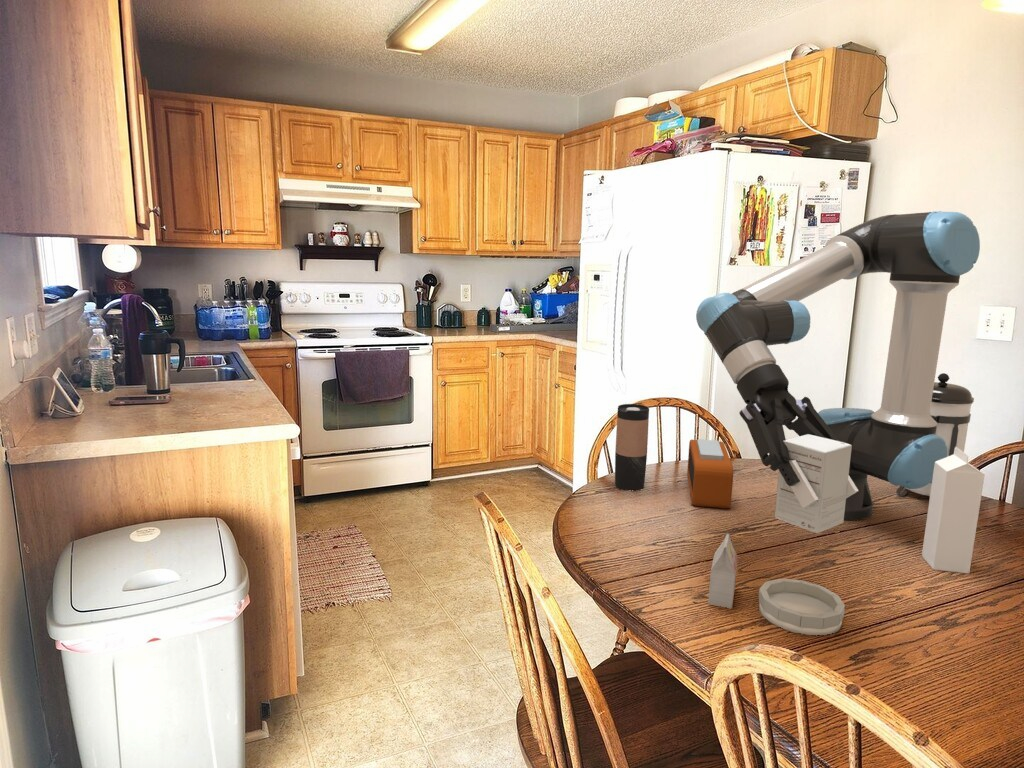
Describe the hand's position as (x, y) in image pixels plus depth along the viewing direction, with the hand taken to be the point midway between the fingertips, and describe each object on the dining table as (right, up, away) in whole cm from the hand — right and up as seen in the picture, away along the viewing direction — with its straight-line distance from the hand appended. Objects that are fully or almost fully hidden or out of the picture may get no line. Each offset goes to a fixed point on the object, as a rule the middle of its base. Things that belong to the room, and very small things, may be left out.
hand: (830, 499), depth 98 cm
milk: (+33, -17, +25) cm, 45 cm away
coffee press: (+53, -10, +61) cm, 81 cm away
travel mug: (-18, -8, +65) cm, 68 cm away
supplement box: (-2, -4, +4) cm, 6 cm away
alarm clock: (0, -9, +63) cm, 63 cm away
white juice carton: (-12, -19, +12) cm, 25 cm away
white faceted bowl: (-2, -19, +7) cm, 21 cm away
